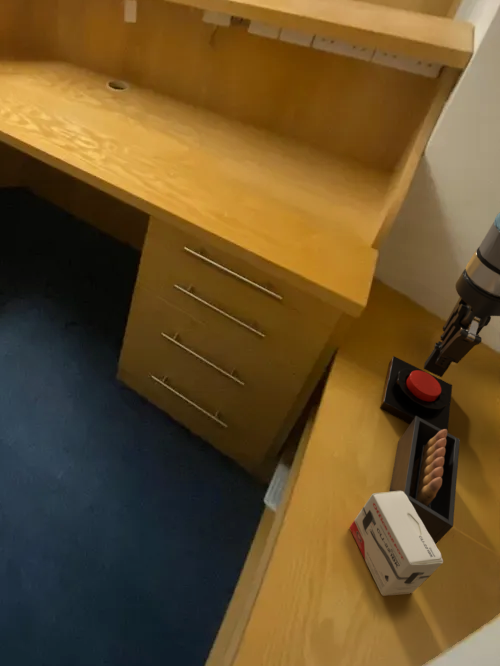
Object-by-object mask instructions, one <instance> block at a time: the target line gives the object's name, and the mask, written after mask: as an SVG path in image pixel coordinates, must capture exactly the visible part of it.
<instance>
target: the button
mask: <svg viewBox="0 0 500 666" xmlns="http://www.w3.org/2000/svg"><path fill="white" fill-rule="evenodd" d="M423 371H424V370H423ZM423 371H419V370H416V371H413V372H411V374H410V375H409V377H408V378H407V380H406V384H407V387H408V389H409V390H410V392H411V393H412V394H413V395H415V396H416V397H417V398H419V399H421V400H423V401H426V402H433V401H435V400H436V399H437V398H438V396H439V395H440V393H441V386H440V384H439V383H438V381H437V380H436V379H435V378H434V377H433V376H434V375H433V376H431V375H432V374H431V373H429V372H427V371H425V372H423ZM426 372H427V373H426ZM428 373H429V374H428ZM430 374H431V375H430Z"/></svg>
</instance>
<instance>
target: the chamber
mask: <svg viewBox="0 0 500 666" xmlns="http://www.w3.org/2000/svg"><path fill="white" fill-rule="evenodd" d="M439 431H441V429H440V428H438V427H436V426H434V425H432V424H430V423H428V422H427V421H425V420H423V419H421V418H419V417H417V416H416V417H415V418H414V420H413V421H412V423H411V424H408V427H407V428H406V430H405V431H404V433H403V434H402V436H401V437H399V440H398V441H397V446H396V450H395V451H396V453H395V458H394V463H393V469H392V474H391V480H390V486H389V491H388V492H393V491H403V492H404V493H405V494H406V495H407V497H408V499H409V501H410V502H411V504H412V505H413V507H414V509H415V510H416V513H417V514H418V516H419V518H420V519H421V521H422V522H423V524H424V526H425V528H426V530H427V531H428V533H429V534H430V536H431V538H432V539H433V541H434V543H435V545H436V546H437V544H438V543H439V541H441V539H443V538H444V536H446V535H447V533H448V532H449V531H450V530H451V529H452V528H453V527H454V520H455V519H454V518H455V506H456V491H457V482H458V481H457V479H458V468H459V467H458V466H459V453H460V441H461V440H460V438H459V437H456V436H455V435H453V434H451V433H450V432H448V433H447V437H446V446H445V455H444V465H443V475H442V477H441V478H442V485H441V487H440V489H439V490H438V492H437V493H436V496H435V498H434V499H433V500H432V501H431V502H430V507H429V508H428V507H427V506H425V505H424V504H422V503H420V502H419V501H417V500H415V499H414V498H412V497H410V496H409V490H410V484H411V477H412V470H413V463H414V456H415V455H416V454H417V452H418V451H419V450H420V448H421V447H422V446H423V445H426V444H427V443H428V442H429V440H430V439H431V438H433V437H434V436H435V435H436V434H437V433H438V432H439Z"/></svg>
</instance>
